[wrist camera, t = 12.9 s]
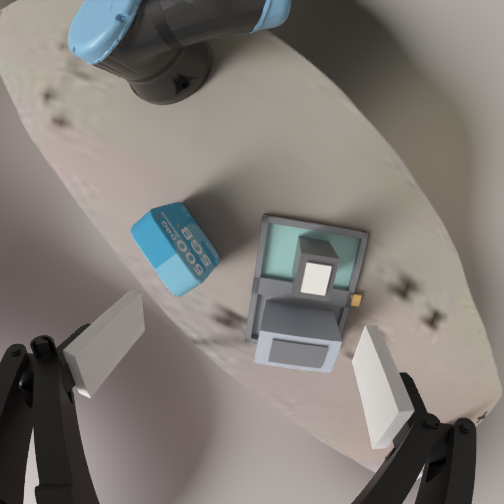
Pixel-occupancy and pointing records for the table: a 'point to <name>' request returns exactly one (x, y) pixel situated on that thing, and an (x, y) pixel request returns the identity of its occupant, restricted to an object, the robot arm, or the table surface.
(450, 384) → the table surface
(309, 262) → the plug
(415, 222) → the table surface
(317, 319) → the block
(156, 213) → the data package
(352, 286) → the grey flat panel
